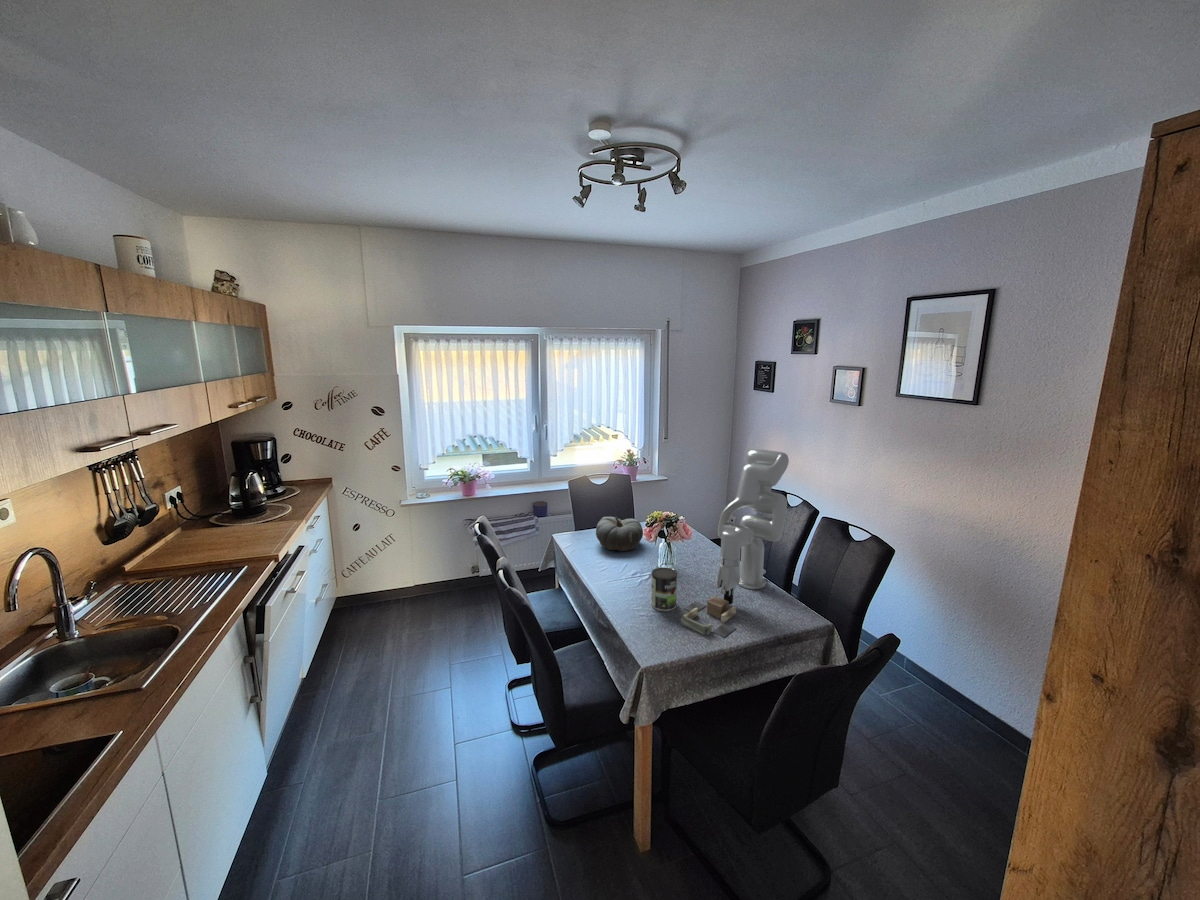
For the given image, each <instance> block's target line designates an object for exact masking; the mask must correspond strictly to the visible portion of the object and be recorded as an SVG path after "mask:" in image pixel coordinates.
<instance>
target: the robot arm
mask: <svg viewBox="0 0 1200 900" xmlns="http://www.w3.org/2000/svg"><path fill="white" fill-rule="evenodd" d="M746 460H747V461H746V462H747V464H745V465H743V468H742V470H741V474H740V480H739V482H738V483H739V484H738V488H737V492H736V496H735V498H734V500H732V501H731V502H730V503H728V504H727V505H726V506H725V508H724V509H723V510H722V512H721V514H720V517H719V522H718V527H717V537H718V538H719V539H720V561H719V563H720V564H719V568H718V573H717V582H716V587H717V588H718V589H720V594H722V595H723V599H724V600H727V601H729V606H731V605H732V604H733V603H734V593H735V588H736V587H737V586H738V585H739V586H740V587H742V588H745V589H749V590H760V589H763V588H765V587H766V586H767V581H766V580H765V578H763V576H764V574H766V569H764V562H765V561H764V559H765V557H764V556H765V545H764V542H763V540H766V541H771V542H778V541H780V540H781V538H782V536H783V531H784V528H785V520H786V515H787V510H788V509H787V508H788V501H787V497H786V496H785V495H784V494H781V493H777V492H773V491H772V488H773V487H775V486H776V485H777V484H778V483H779V481H780V480H781V478H782V477H783V475H784V473H785V472H786V471H787V469H788V466H789V463H790V462H789V457H788V454H786V452H782V451H775V450H768V449H759V448H757V449H755V448H754V449H750V450H749V451H748V452H747V455H746ZM746 507H748V509H750V510H751V511H753V512H756V513H760V514H765V515H766V514H767V515H771V517H767V516H763V515H759V514H754V513H753V514H751V513H748V514H745V515H743V516H742V517H741V519H740V524H737V523H733V522H732V523H731V522H730V518H731V517H732V515H733V514H734V513H735V512H736V511H738V510H740V509H742V508H746Z"/></svg>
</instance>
